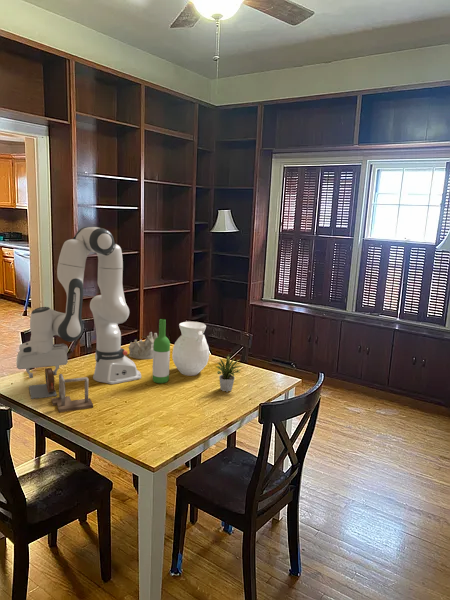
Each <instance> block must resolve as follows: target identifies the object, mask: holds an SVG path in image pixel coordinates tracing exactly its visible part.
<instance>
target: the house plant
mask: <svg viewBox="0 0 450 600" xmlns="http://www.w3.org/2000/svg"><path fill="white" fill-rule="evenodd" d="M235 359H236V357H234V358H233V359H230V356H229V355H227V356H226V359H225V360H226V361H225V362H224V360H222V359H221V358H220V357H219V360H220V362H219V360H216V362H214V363H215V364H218V365H217V366H215V367H216V368H217V369H218V370H217V373H216V374H217V375H219V376H218V377H219V379H218V380H219V389H220V391H221V390H222V391H221V392H223V391H226V392H225V393H229V392H228V391H230V392H232V391H231V390H233V387H234V386H233V385H234V382H235V374H236V373H239V374H241V372H242V370H241V369H238V368H243V367H244V366H241V365H240V364H242V365H243V364H244V363H242V362H241V363H238V362H239V361H240V359H237V360H235ZM234 360H235V362H234ZM219 370H220V371H219Z"/></svg>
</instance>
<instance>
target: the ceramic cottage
mask: <svg viewBox="0 0 450 600" xmlns="http://www.w3.org/2000/svg"><path fill="white" fill-rule="evenodd" d="M157 337H158V333H157V332H154V333H153V332H152V331H150V332H149V333H148V335H147V336H146V338H145V340H144V341H143V340H142V339H139V341H138V339H134V341H133V342H132V341H130V343H129V346H128V350H129V353H128V358H129V357H130V358H134V359H137V360H153V346H154V341H155V339H156V338H157ZM137 341H138V342H137Z"/></svg>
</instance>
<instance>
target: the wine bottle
mask: <svg viewBox="0 0 450 600" xmlns="http://www.w3.org/2000/svg"><path fill="white" fill-rule="evenodd" d="M158 322H159V323H158V335H157V338H156V339H155V341H154V346H153V359H152V381H153V383H157V384H165V383H168V382H169V379H170V359H171V357H170V355H171V341H170V340H169V338H168V337H167V335H166V325H167V323H166V319H165V318H160V319H159V321H158Z"/></svg>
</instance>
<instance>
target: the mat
mask: <svg viewBox="0 0 450 600" xmlns="http://www.w3.org/2000/svg"><path fill="white" fill-rule="evenodd" d="M28 388H29V389H28V390H29V394H30V395H31V396H30V395H29V396H30V399H31V400H35V399H34V398H36V399H43V398H53V397H58V394H57V391H56V390H55V392H51V393H48V389H47V386H46V383H41V384H40V383H39V384H34V385H28ZM52 396H53V397H52Z"/></svg>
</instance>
